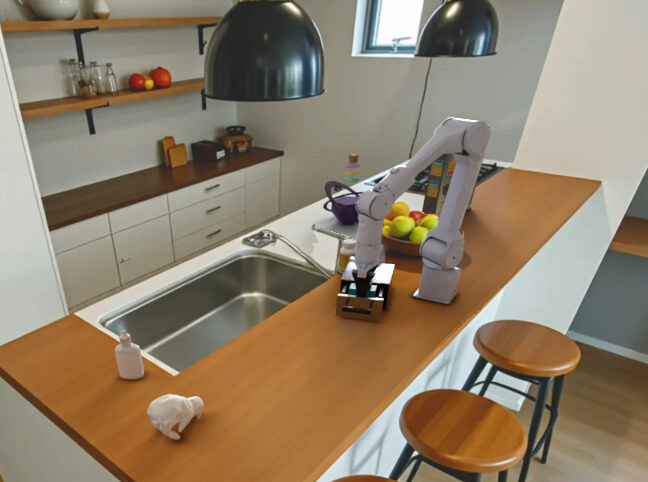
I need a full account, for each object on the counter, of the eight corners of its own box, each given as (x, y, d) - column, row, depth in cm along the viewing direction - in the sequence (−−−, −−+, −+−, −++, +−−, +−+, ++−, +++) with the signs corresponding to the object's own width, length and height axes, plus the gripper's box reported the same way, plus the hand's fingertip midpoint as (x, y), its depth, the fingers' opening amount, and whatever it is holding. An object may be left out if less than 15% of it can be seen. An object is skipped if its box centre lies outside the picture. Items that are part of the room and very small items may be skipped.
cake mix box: (456, 205, 197) (474, 124, 180) (470, 208, 192) (489, 125, 175) (421, 216, 188) (436, 132, 171) (434, 219, 184) (451, 134, 167)
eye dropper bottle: (134, 384, 108) (125, 338, 101) (117, 376, 110) (107, 331, 104) (147, 374, 110) (139, 329, 104) (130, 367, 113) (121, 323, 107)
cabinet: (385, 310, 128) (389, 284, 123) (338, 304, 132) (341, 279, 128) (390, 289, 138) (394, 264, 133) (347, 284, 142) (349, 260, 138)
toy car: (375, 296, 125) (377, 279, 123) (373, 301, 123) (376, 285, 120) (350, 293, 128) (352, 277, 125) (347, 299, 125) (349, 282, 122)
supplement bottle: (356, 274, 147) (359, 244, 142) (338, 274, 148) (340, 244, 143) (355, 268, 152) (358, 238, 146) (337, 267, 153) (340, 238, 147)
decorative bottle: (366, 234, 176) (375, 162, 162) (312, 228, 185) (315, 160, 171) (381, 216, 192) (390, 149, 178) (330, 212, 201) (334, 148, 187)
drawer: (377, 330, 118) (380, 309, 114) (331, 324, 122) (333, 303, 118) (385, 300, 130) (388, 280, 127) (343, 295, 135) (345, 276, 131)
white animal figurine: (142, 397, 89) (189, 374, 96) (145, 433, 93) (190, 408, 100) (164, 411, 85) (212, 386, 92) (166, 448, 89) (212, 421, 96)
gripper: (356, 231, 124) (351, 279, 131) (346, 251, 113) (341, 302, 120) (385, 233, 121) (378, 282, 129) (378, 253, 110) (370, 306, 118)
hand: (362, 292), depth 124 cm, fingers closed on toy car, 3 cm apart
